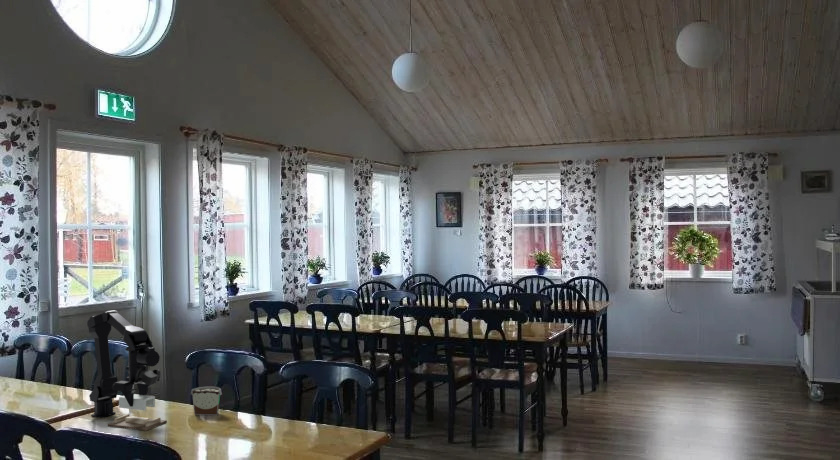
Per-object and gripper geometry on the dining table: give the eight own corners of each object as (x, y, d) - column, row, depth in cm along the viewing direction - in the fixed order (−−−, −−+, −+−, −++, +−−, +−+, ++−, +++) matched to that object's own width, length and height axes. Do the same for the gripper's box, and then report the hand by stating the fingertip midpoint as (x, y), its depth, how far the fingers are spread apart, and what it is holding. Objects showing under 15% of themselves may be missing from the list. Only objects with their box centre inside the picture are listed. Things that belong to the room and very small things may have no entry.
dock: (107, 426, 257) (107, 419, 257) (128, 418, 267) (128, 412, 267) (146, 430, 251) (146, 424, 251) (166, 422, 261) (166, 416, 261)
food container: (226, 411, 277) (226, 386, 277) (220, 415, 271) (220, 390, 271) (197, 410, 278) (197, 385, 278) (190, 414, 272) (190, 389, 272)
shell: (119, 407, 259) (118, 397, 258) (129, 404, 264) (129, 393, 264) (144, 410, 255) (144, 399, 255) (155, 406, 260) (155, 396, 260)
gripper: (136, 369, 248) (136, 412, 248) (170, 360, 265) (171, 400, 265) (111, 367, 251) (111, 410, 251) (147, 358, 269) (147, 397, 269)
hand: (137, 404), depth 259 cm, fingers closed on shell, 5 cm apart
